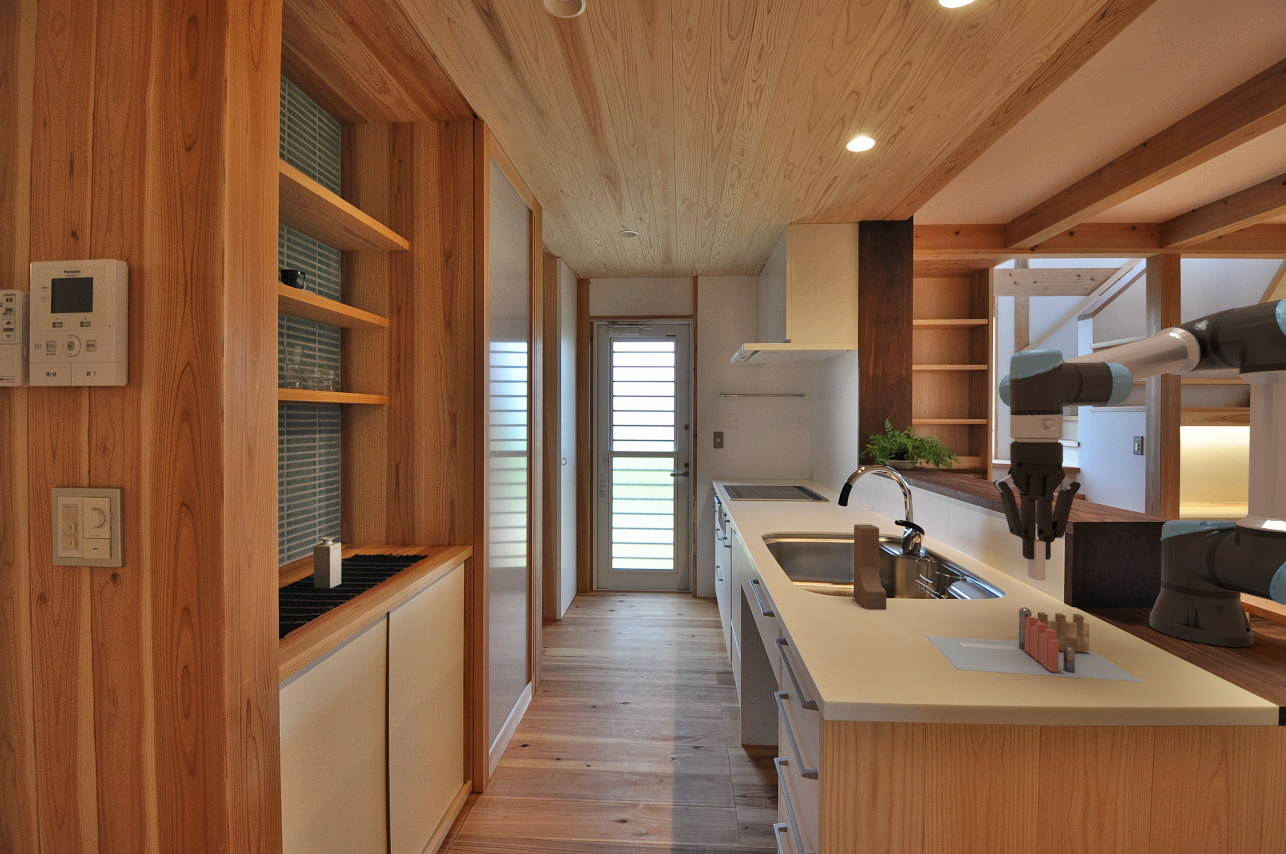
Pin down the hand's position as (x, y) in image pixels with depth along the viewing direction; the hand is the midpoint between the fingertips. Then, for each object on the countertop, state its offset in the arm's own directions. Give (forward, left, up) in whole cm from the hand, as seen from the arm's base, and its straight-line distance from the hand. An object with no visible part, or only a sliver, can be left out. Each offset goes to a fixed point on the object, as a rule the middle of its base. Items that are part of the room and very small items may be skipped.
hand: (1036, 578), depth 100 cm
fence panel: (-2, -2, -15) cm, 15 cm away
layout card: (0, -4, -16) cm, 16 cm away
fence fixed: (-8, -8, -15) cm, 19 cm away
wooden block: (+20, -32, -16) cm, 41 cm away
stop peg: (-5, +1, -15) cm, 16 cm away
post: (-2, -8, -15) cm, 17 cm away
